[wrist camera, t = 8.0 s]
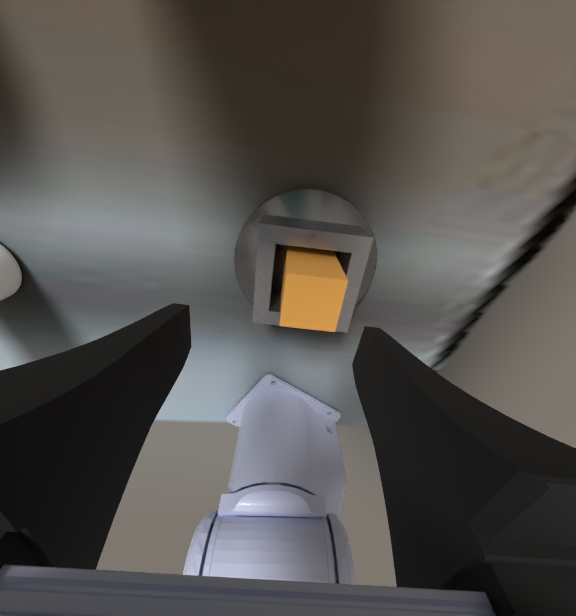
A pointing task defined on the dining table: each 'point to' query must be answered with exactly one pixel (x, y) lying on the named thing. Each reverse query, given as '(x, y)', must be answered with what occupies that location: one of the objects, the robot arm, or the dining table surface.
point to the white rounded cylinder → (8, 274)
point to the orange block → (311, 289)
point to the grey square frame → (303, 233)
